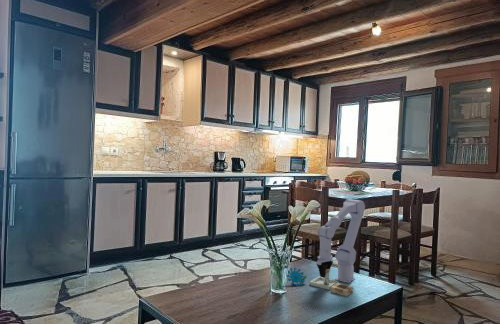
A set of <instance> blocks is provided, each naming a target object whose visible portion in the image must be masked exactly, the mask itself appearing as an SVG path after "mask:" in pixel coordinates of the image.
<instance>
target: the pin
mask: <svg viewBox="0 0 500 324" xmlns="http://www.w3.org/2000/svg"><path fill="white" fill-rule="evenodd" d="M330 272H331V268H326V272H325V277H323V284H324V285H329V279H330Z"/></svg>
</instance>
